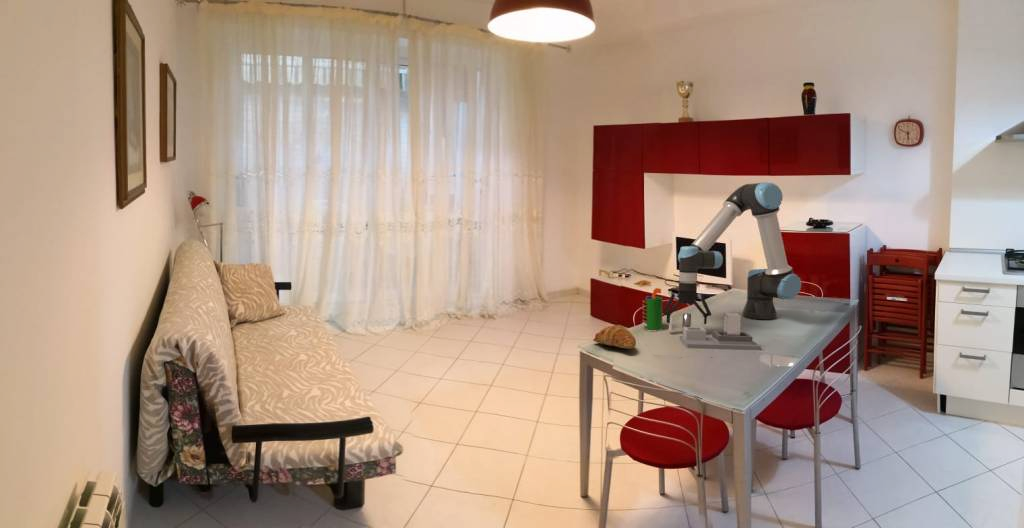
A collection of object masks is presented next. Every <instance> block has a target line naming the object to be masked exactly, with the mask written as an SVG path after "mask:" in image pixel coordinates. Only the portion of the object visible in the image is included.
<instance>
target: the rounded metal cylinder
mask: <svg viewBox="0 0 1024 528" xmlns="http://www.w3.org/2000/svg"><path fill="white" fill-rule="evenodd" d="M681 325H682V326H681V328H682V329H681V334H682V335H683V327H692V313H689V312H687V313H685V312H683V313H682V324H681Z"/></svg>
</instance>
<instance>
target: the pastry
mask: <svg viewBox="0 0 1024 528" xmlns="http://www.w3.org/2000/svg"><path fill="white" fill-rule="evenodd" d="M636 340H637V339H636V338H635V336H634V335H633V334H632V333H631V332H630V331H629V330H628V329H627V328H626V327H625V326H623V325H620V324H614V325H609V326H607V327H605V328H602V329H601V330H600V331H598V332H597V333H595V335H594V338H593V342H595V343H599V344H603V345H607V346H611V347H612V346H613V347H618V348H622V349H634V348H635V347H636V344H637V341H636Z"/></svg>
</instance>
